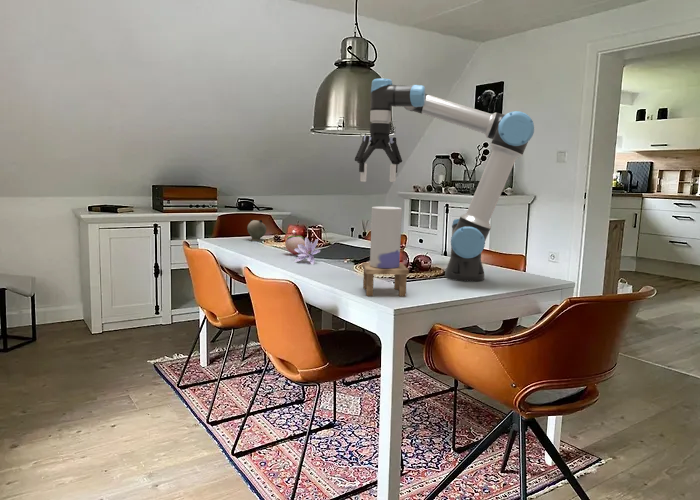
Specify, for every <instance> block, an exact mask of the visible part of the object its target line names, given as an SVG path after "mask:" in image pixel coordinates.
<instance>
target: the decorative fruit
mask: <svg viewBox="0 0 700 500" xmlns="http://www.w3.org/2000/svg"><path fill="white" fill-rule="evenodd" d="M298 244H302V245H304V246H305V238H304V237H303V236H302V235H297V234H296V233H295V234H294V235H289V236H287V237H286V238H285V243H284V246H285V248H286V250H287V251H288V252H289V253H291V254H293V255H294V256H295V255H299V253H298V252H296V251H295V250H294V249H295V248H298ZM305 247H306V246H305Z"/></svg>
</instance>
